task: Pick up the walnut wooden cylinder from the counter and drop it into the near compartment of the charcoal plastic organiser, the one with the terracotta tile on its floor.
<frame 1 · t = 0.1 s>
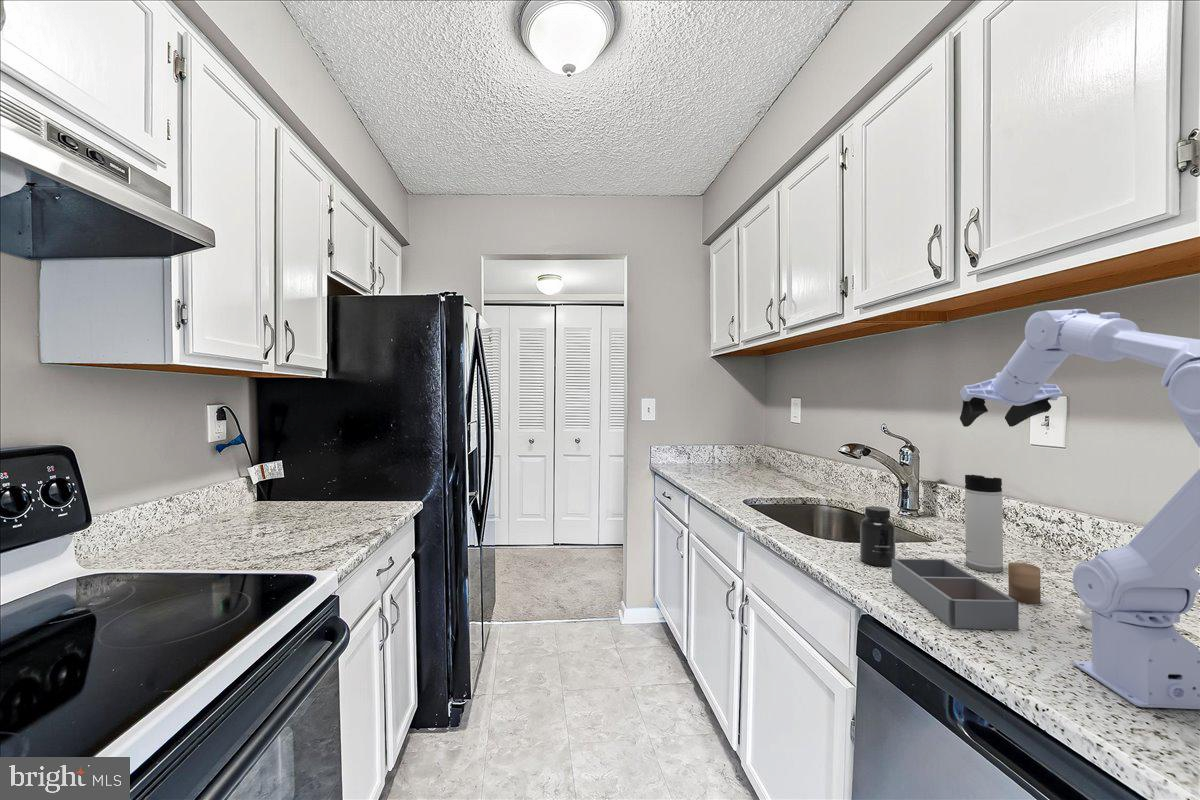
hand: (986, 422, 91), 32 cm above the worktop, tool tilted 50°, fingers open, 7 cm apart
walnut cylinder: (1024, 599, 90), on the worktop
marshmallow: (1096, 630, 78), on the worktop
travel mug: (983, 568, 105), on the worktop
supplement bottle: (877, 562, 110), on the worktop
organiser: (947, 602, 89), on the worktop
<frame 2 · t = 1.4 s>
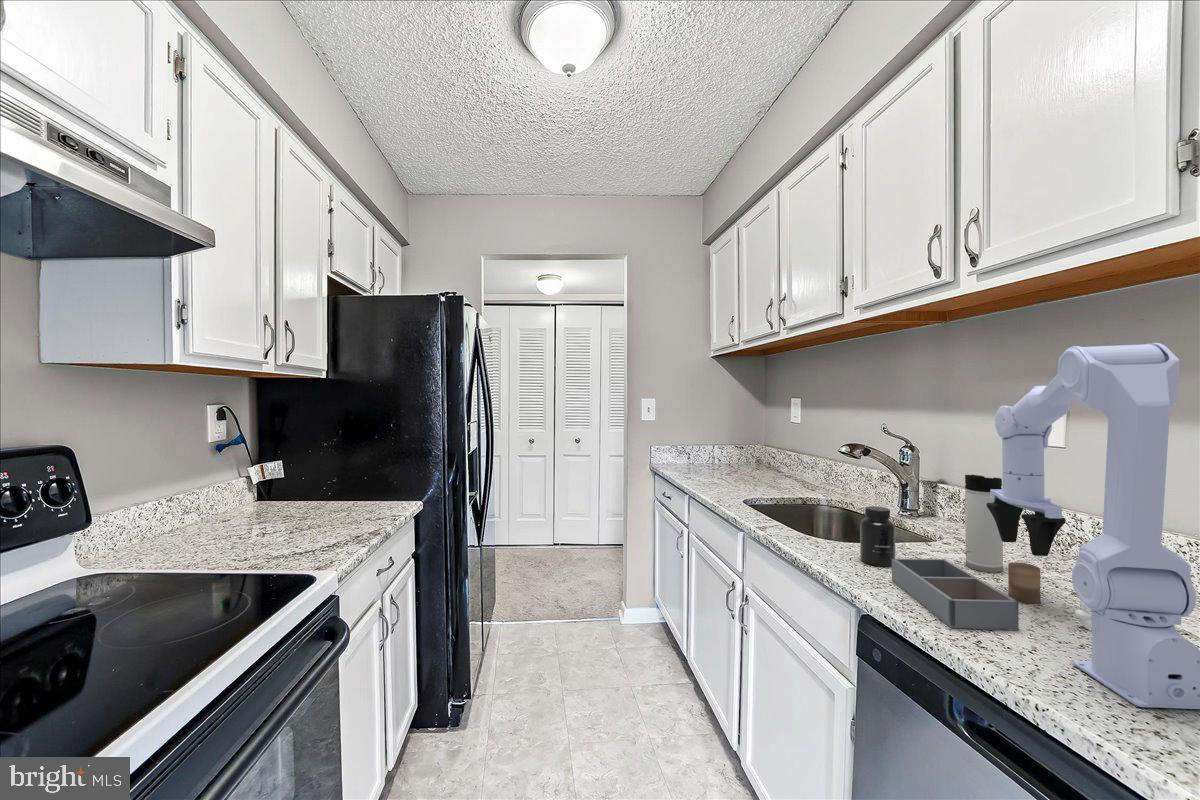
hand: (1023, 548, 89), 9 cm above the worktop, tool pointing down, fingers open, 7 cm apart
nothing on the worktop moved.
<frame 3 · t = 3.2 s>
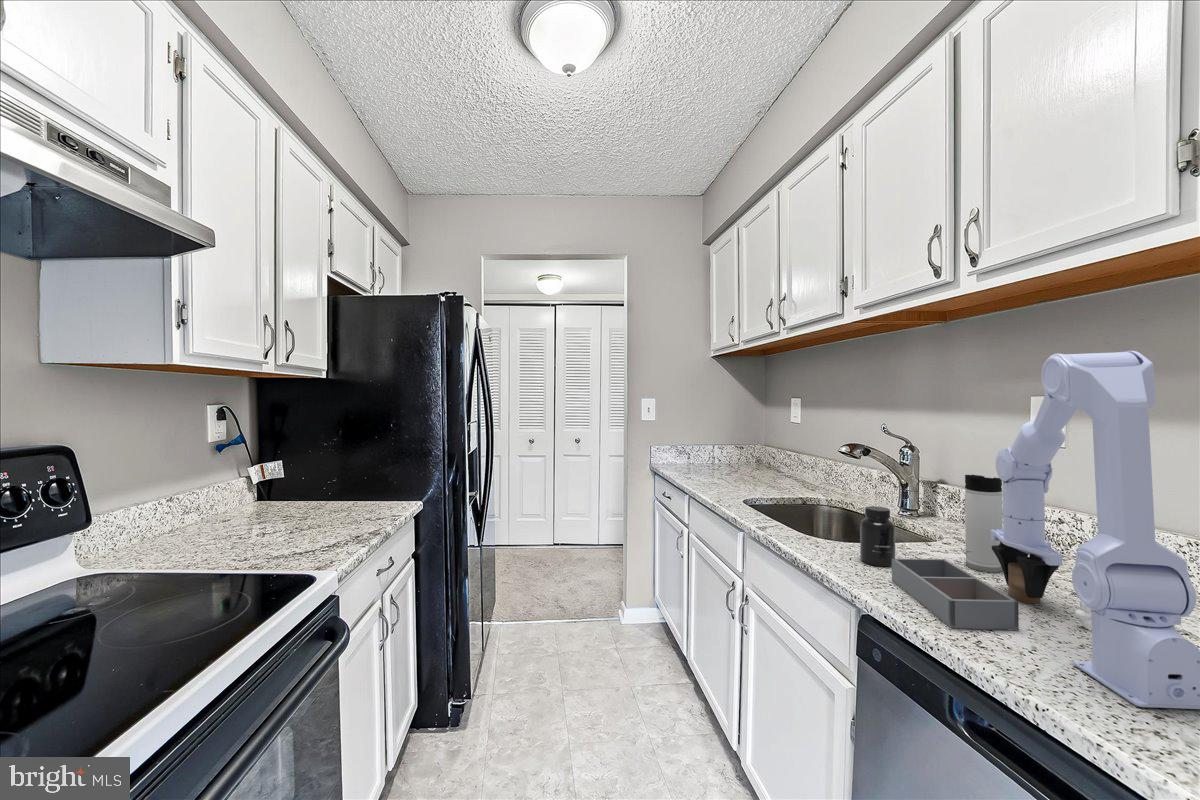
hand: (1024, 591, 90), 1 cm above the worktop, tool pointing down, fingers closed on walnut cylinder, 4 cm apart
walnut cylinder: (1024, 599, 90), on the worktop, touching gripper
everything else where it was.
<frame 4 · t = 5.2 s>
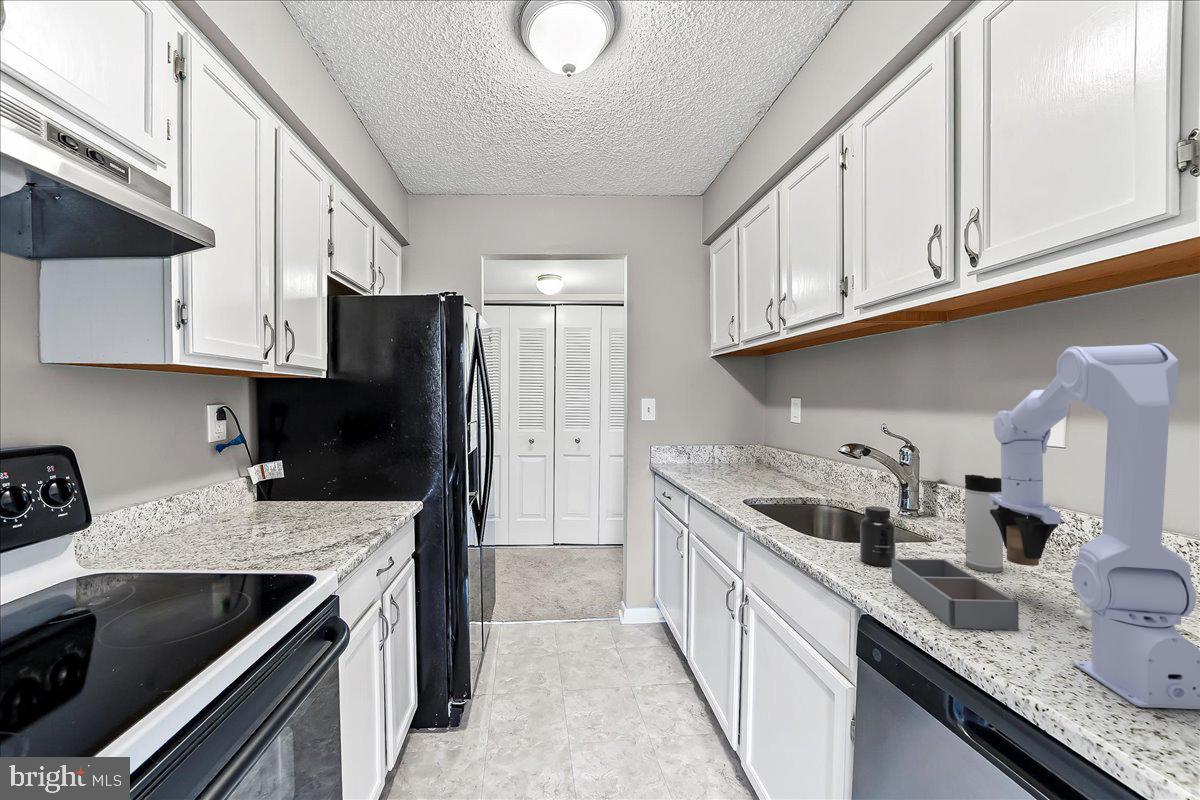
hand: (1022, 553, 89), 8 cm above the worktop, tool pointing down, fingers closed on walnut cylinder, 4 cm apart
walnut cylinder: (1022, 561, 89), point 7 cm above the worktop, touching gripper
everything else where it was.
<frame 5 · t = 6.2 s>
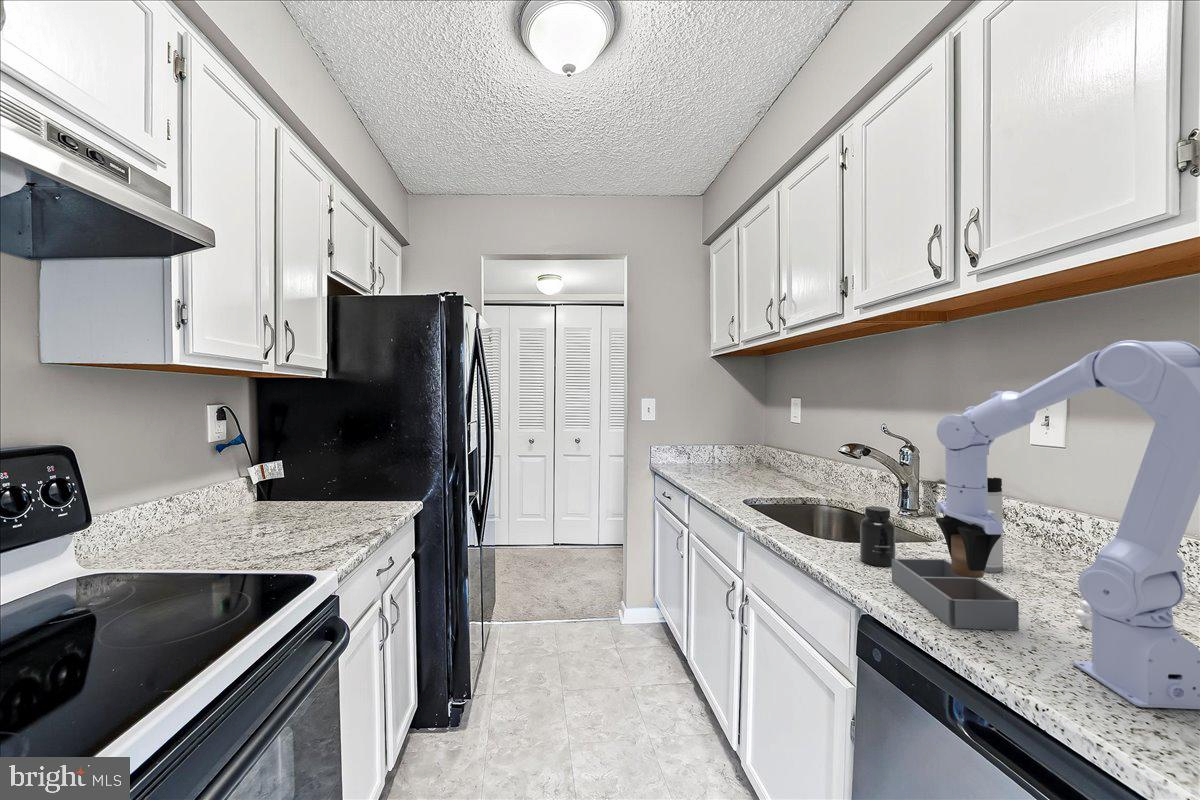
hand: (967, 564, 84), 8 cm above the worktop, tool pointing down, fingers closed on walnut cylinder, 4 cm apart
walnut cylinder: (967, 573, 85), point 7 cm above the worktop, touching gripper
everything else where it was.
when the fingers open (6 cm above the worktop, at t = 7.2 s): walnut cylinder drops 4 cm, resting on organiser.
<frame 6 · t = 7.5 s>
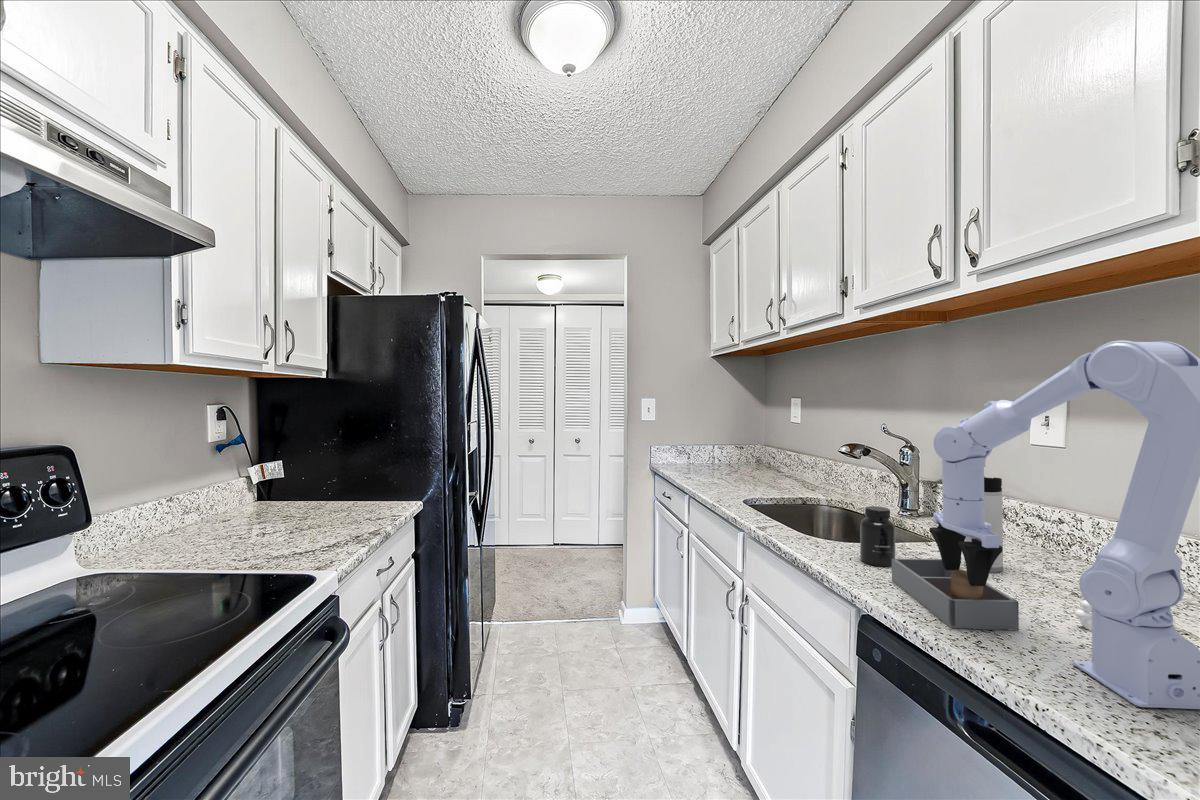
hand: (964, 577, 84), 6 cm above the worktop, tool pointing down, fingers open, 6 cm apart
walnut cylinder: (964, 609, 84), point 1 cm above the worktop, touching organiser
everything else where it was.
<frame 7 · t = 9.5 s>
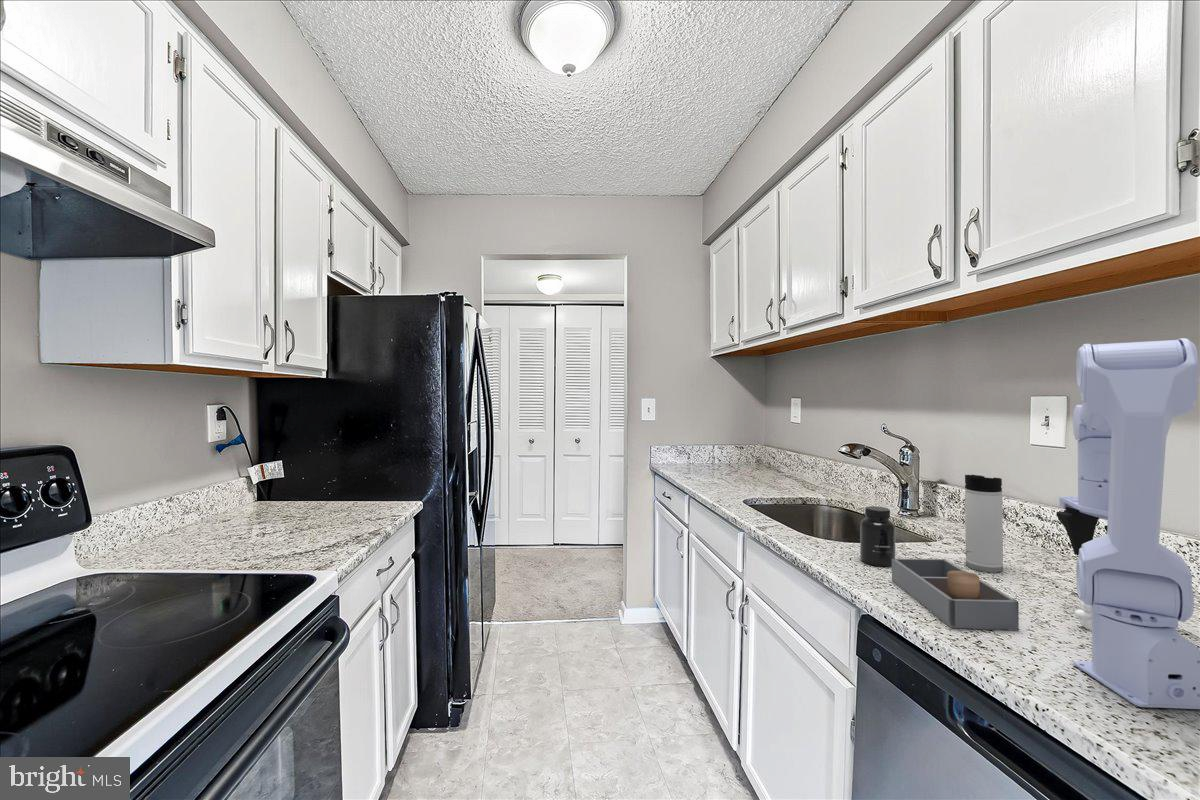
hand: (1102, 562, 81), 9 cm above the worktop, tool pointing down, fingers open, 7 cm apart
nothing on the worktop moved.
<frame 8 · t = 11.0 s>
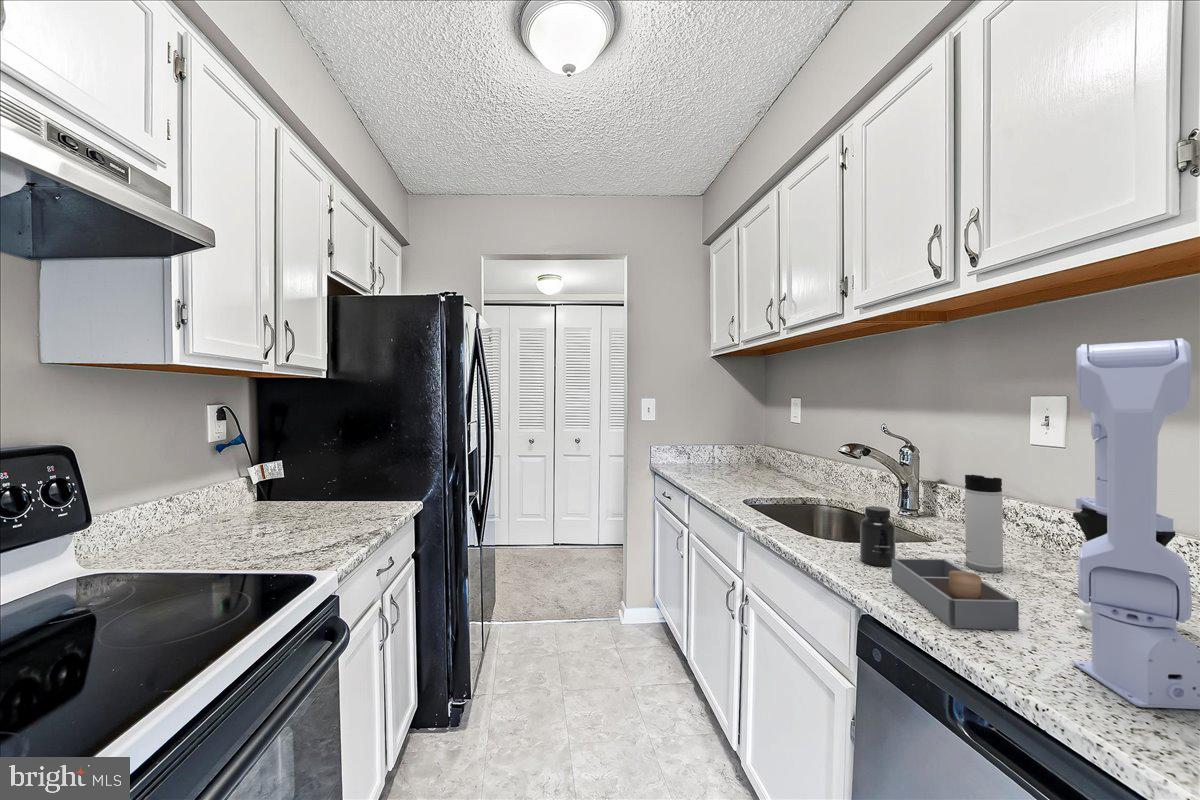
hand: (1120, 563, 81), 9 cm above the worktop, tool pointing down, fingers open, 7 cm apart
nothing on the worktop moved.
at the end: walnut cylinder inside the target area on the organiser (0.1 cm from its centre), point 0.8 cm above the organiser's base; the gripper is holding nothing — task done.
